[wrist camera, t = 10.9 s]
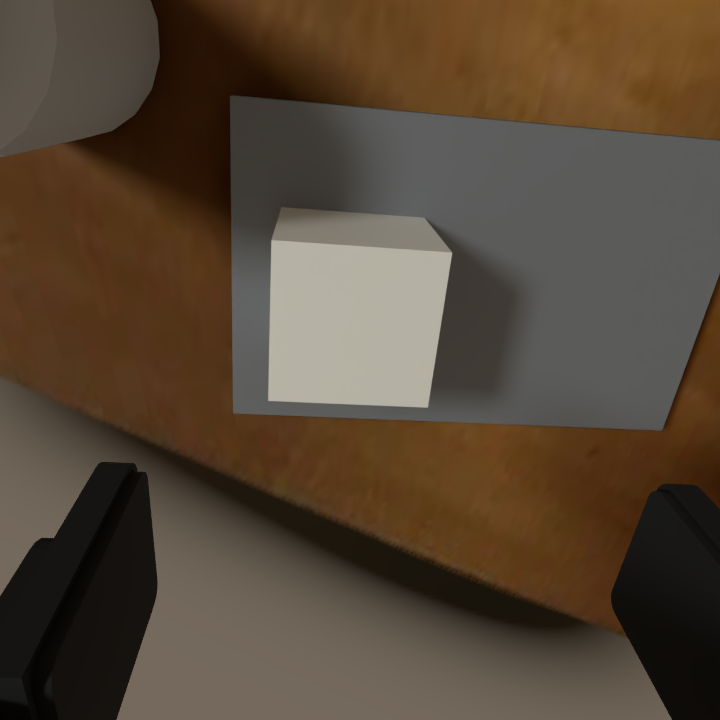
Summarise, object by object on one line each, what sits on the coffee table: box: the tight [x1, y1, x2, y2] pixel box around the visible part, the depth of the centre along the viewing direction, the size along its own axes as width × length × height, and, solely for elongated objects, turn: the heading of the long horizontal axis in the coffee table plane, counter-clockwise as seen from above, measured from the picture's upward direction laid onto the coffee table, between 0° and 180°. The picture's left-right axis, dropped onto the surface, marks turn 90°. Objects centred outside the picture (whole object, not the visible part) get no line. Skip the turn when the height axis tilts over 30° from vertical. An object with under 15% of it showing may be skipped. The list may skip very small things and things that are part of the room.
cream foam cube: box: [268, 207, 452, 408], centre depth 23 cm, size 6×6×6 cm
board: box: [230, 95, 720, 430], centre depth 26 cm, size 22×14×2 cm, turn 85°
